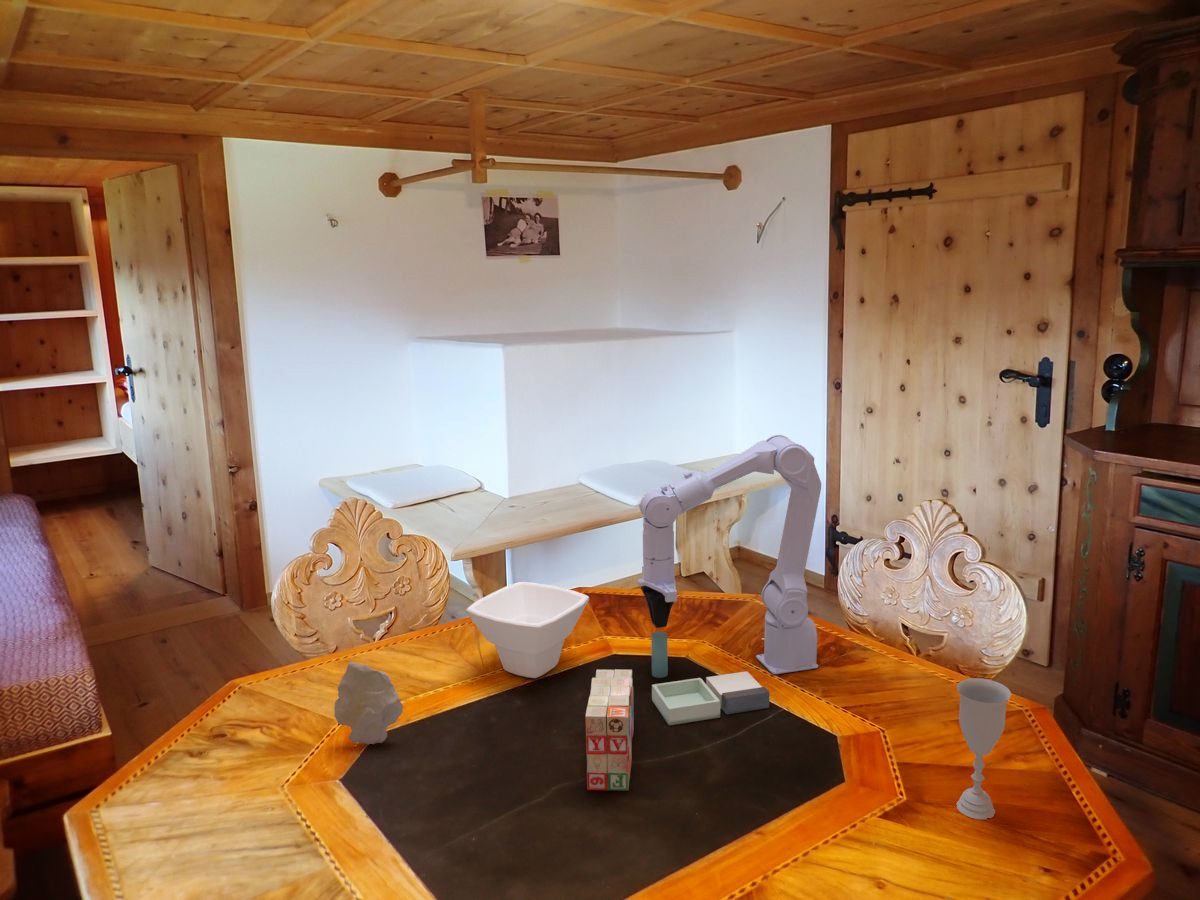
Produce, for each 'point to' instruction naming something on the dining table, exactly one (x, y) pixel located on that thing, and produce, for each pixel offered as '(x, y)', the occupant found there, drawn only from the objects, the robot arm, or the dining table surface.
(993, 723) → the chalice
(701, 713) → the tray
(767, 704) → the bench dog
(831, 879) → the dining table surface
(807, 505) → the robot arm
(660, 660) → the dowel
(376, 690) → the stone tool
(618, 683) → the stack of blocks
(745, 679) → the pale grey box
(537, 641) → the bowl
